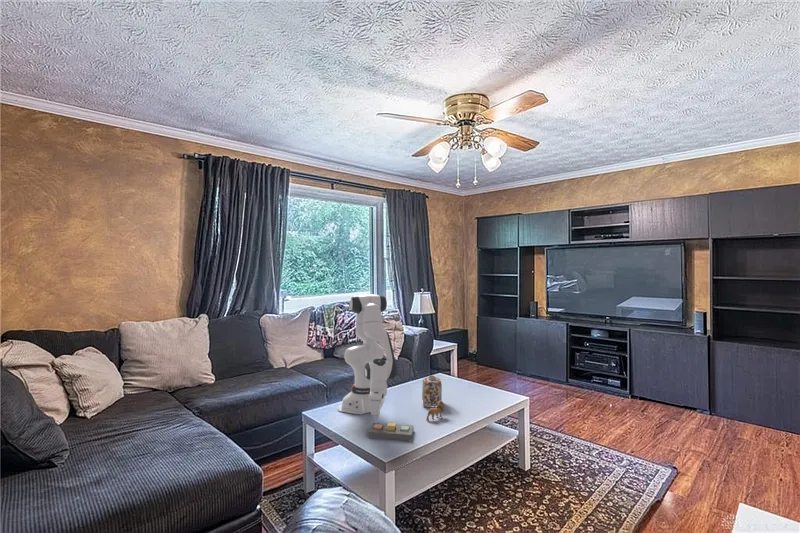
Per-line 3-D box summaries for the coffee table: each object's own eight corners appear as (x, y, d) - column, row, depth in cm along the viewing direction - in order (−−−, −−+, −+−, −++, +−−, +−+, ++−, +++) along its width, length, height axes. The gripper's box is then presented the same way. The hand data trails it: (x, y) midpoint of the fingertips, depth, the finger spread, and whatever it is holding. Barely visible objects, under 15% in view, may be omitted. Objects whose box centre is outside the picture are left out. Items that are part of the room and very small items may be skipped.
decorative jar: (441, 407, 243) (442, 379, 243) (422, 407, 243) (423, 378, 243) (440, 401, 255) (440, 373, 255) (422, 400, 255) (422, 373, 255)
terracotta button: (373, 434, 203) (373, 427, 203) (375, 431, 207) (375, 424, 207) (381, 435, 202) (381, 427, 202) (382, 431, 206) (382, 424, 206)
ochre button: (387, 432, 202) (387, 425, 202) (388, 429, 206) (388, 422, 206) (394, 433, 202) (394, 426, 202) (395, 430, 206) (395, 423, 206)
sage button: (400, 436, 201) (400, 429, 201) (401, 433, 205) (401, 425, 205) (408, 436, 201) (408, 429, 201) (408, 433, 205) (409, 426, 205)
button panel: (368, 437, 199) (368, 431, 199) (372, 428, 211) (372, 422, 211) (411, 440, 197) (411, 434, 197) (413, 430, 208) (413, 425, 208)
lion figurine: (438, 414, 233) (438, 399, 233) (446, 416, 229) (446, 401, 229) (423, 421, 221) (424, 405, 221) (431, 424, 218) (431, 407, 218)
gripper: (376, 384, 216) (375, 408, 216) (368, 397, 195) (367, 424, 196) (387, 385, 215) (386, 409, 215) (380, 398, 195) (380, 425, 195)
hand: (377, 417), depth 205 cm, fingers closed
